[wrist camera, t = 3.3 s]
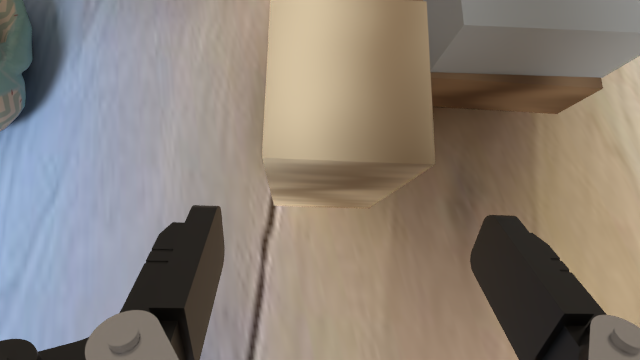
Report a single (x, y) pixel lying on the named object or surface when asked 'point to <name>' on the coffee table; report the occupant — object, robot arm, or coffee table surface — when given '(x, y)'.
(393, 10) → the oak block
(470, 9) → the tower top
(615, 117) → the coffee table surface
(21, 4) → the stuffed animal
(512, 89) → the tower base
